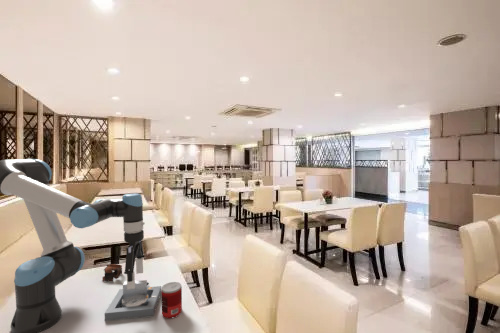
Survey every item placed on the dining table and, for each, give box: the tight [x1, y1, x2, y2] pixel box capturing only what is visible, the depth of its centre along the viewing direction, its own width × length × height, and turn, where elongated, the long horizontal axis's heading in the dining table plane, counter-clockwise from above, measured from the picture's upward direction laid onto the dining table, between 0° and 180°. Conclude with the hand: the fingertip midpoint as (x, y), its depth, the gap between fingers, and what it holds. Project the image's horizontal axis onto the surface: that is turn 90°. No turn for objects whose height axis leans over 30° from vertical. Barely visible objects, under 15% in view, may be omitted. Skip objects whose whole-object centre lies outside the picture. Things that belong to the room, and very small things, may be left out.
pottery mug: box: [102, 263, 123, 282], centre depth 137 cm, size 12×10×8 cm
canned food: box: [160, 281, 183, 319], centre depth 107 cm, size 8×8×11 cm
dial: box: [122, 279, 149, 308], centre depth 112 cm, size 10×10×9 cm
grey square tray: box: [104, 285, 162, 322], centre depth 112 cm, size 18×18×3 cm
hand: (135, 280), depth 112 cm, fingers open, 13 cm apart
